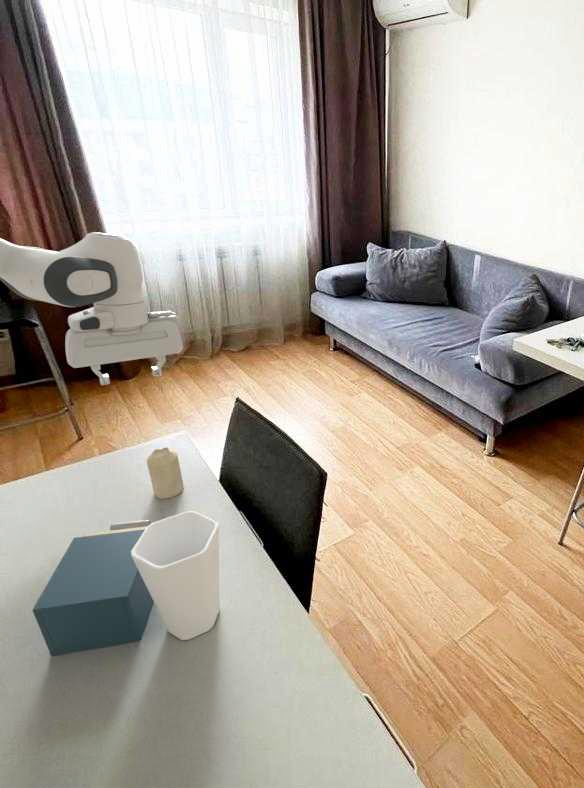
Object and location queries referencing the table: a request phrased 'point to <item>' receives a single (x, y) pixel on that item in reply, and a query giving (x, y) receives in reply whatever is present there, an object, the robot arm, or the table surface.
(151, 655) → the table surface
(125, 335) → the robot arm
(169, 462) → the candle
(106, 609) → the blue-grey box
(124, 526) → the tray
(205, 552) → the cup
